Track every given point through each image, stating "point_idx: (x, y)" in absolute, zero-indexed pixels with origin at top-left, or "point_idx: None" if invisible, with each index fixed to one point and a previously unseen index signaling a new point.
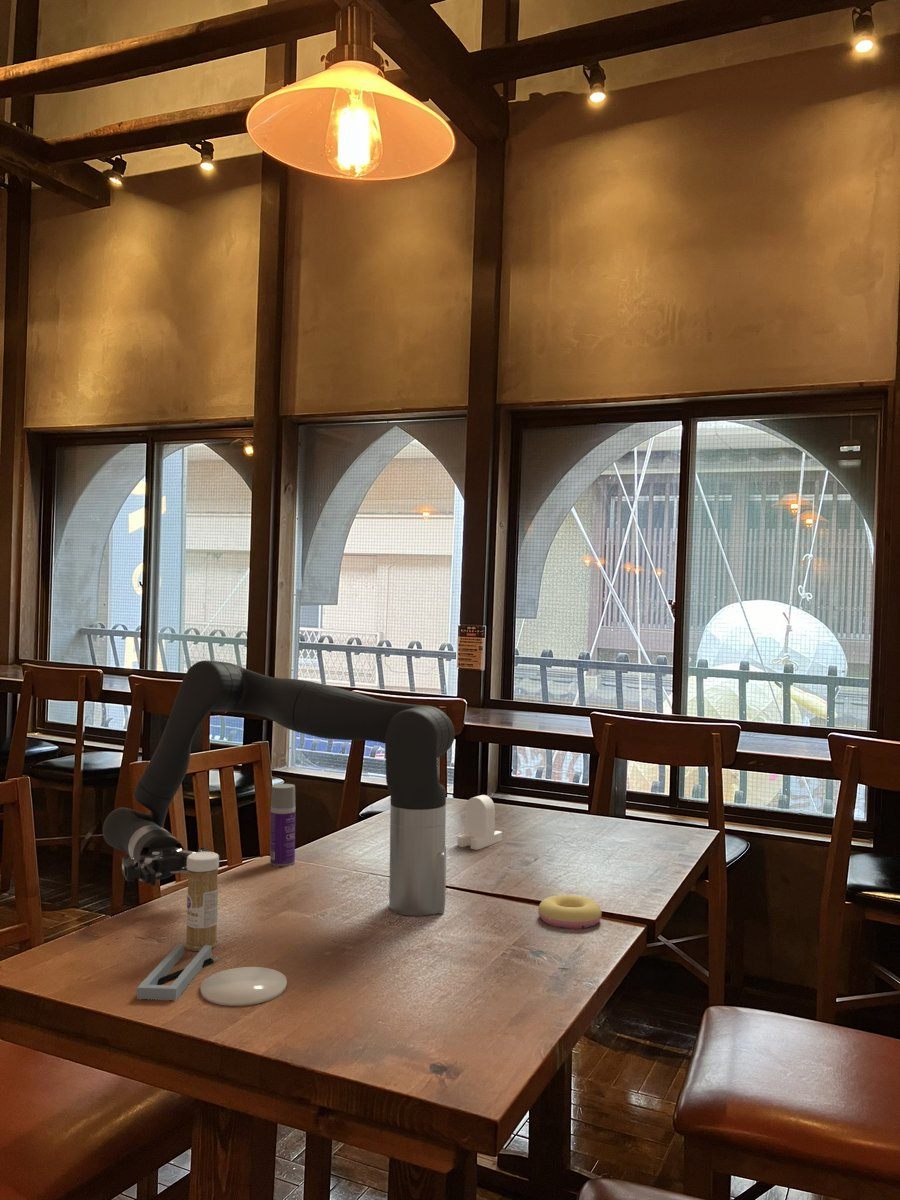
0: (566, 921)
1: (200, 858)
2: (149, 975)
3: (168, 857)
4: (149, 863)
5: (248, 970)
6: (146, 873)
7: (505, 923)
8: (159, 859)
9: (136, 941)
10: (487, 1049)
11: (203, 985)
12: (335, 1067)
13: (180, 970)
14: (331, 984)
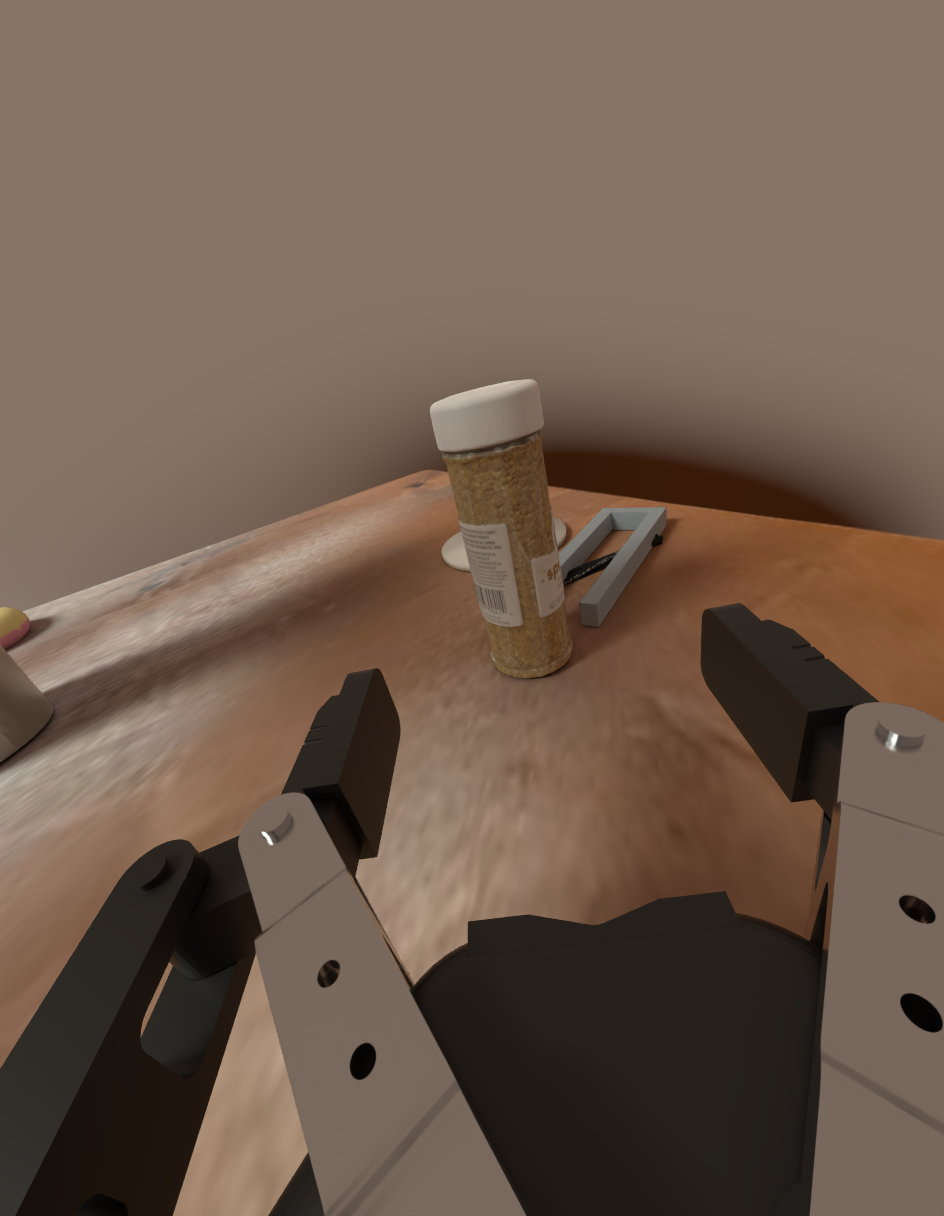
0: (27, 617)
1: (499, 384)
2: (650, 526)
3: (628, 1007)
4: (842, 761)
5: None
6: (782, 635)
7: (34, 654)
8: (765, 939)
9: None
10: (372, 497)
11: (560, 533)
12: None
13: (593, 563)
14: (398, 548)
